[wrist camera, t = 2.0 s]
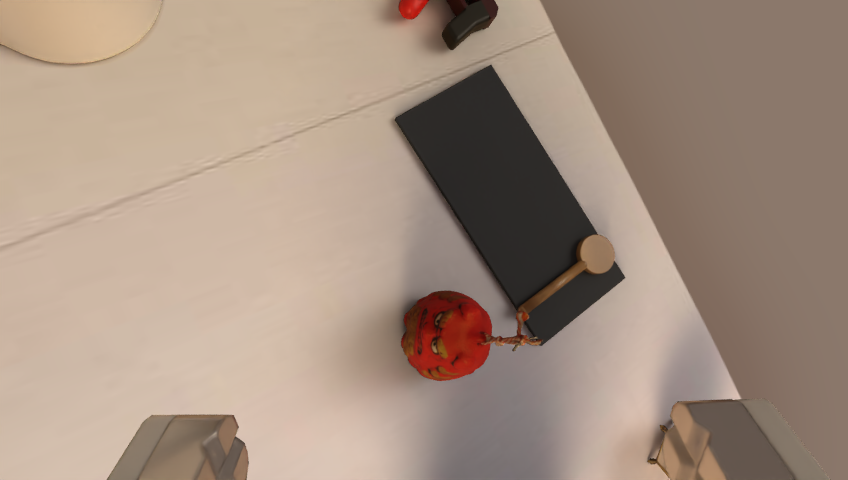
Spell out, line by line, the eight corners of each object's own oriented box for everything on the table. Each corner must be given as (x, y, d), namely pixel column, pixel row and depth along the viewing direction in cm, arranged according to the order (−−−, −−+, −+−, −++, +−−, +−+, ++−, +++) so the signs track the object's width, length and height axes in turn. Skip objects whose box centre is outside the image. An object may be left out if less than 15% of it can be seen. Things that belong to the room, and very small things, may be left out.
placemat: (394, 119, 47) (395, 117, 47) (489, 66, 51) (491, 64, 50) (539, 345, 48) (541, 346, 48) (622, 278, 52) (625, 277, 51)
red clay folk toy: (401, 289, 45) (454, 280, 31) (473, 294, 47) (554, 289, 33) (395, 374, 44) (448, 406, 30) (469, 377, 46) (552, 408, 32)
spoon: (528, 330, 48) (533, 330, 47) (506, 295, 47) (510, 295, 46) (616, 260, 51) (622, 259, 50) (596, 228, 51) (602, 226, 50)
